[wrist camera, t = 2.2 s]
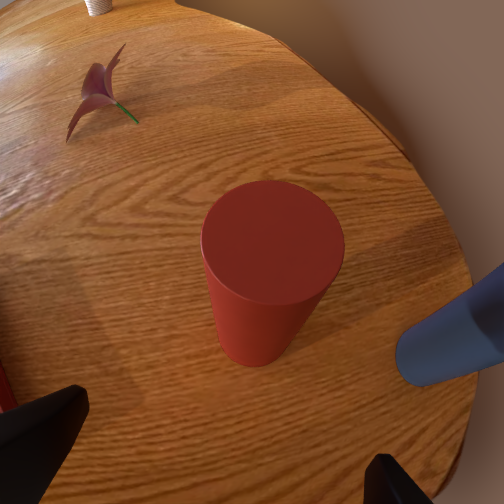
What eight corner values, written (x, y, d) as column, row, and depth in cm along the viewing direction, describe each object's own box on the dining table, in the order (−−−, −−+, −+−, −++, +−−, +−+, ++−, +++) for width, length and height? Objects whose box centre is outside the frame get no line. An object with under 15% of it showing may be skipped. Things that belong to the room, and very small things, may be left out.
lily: (140, 90, 38) (96, 44, 30) (190, 86, 31) (135, 23, 23) (84, 160, 36) (32, 117, 28) (119, 174, 29) (48, 116, 21)
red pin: (298, 355, 22) (367, 282, 10) (228, 375, 21) (219, 323, 9) (276, 292, 24) (313, 171, 13) (210, 308, 23) (188, 193, 12)
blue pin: (453, 371, 21) (575, 317, 10) (407, 396, 20) (538, 359, 9) (433, 317, 23) (540, 237, 12) (386, 338, 22) (498, 259, 11)
